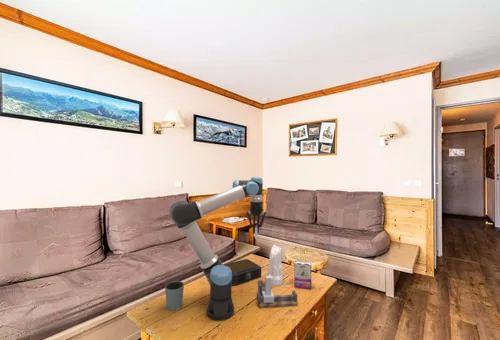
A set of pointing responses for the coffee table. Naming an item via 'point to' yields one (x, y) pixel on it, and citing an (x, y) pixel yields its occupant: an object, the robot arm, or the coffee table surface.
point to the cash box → (244, 271)
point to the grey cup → (174, 295)
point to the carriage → (268, 291)
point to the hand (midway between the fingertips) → (255, 237)
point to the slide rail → (279, 300)
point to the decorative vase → (275, 266)
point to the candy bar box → (302, 274)
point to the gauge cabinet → (261, 287)
